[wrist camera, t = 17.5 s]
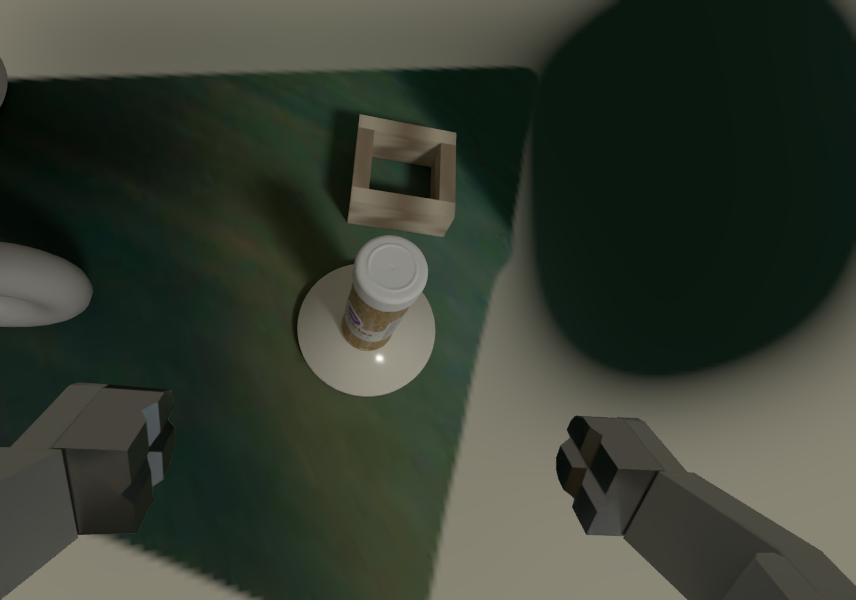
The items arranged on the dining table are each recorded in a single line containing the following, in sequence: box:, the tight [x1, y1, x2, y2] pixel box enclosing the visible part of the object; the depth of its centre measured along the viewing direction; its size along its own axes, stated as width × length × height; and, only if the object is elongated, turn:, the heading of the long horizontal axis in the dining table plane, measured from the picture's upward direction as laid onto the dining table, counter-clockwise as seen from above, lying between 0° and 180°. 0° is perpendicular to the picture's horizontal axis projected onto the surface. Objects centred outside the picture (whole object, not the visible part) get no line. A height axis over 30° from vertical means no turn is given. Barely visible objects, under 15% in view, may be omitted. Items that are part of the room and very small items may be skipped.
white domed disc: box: [297, 264, 435, 397], centre depth 40 cm, size 12×12×1 cm
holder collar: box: [348, 114, 456, 237], centre depth 44 cm, size 10×10×4 cm
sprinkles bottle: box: [341, 235, 428, 351], centre depth 33 cm, size 5×5×13 cm
